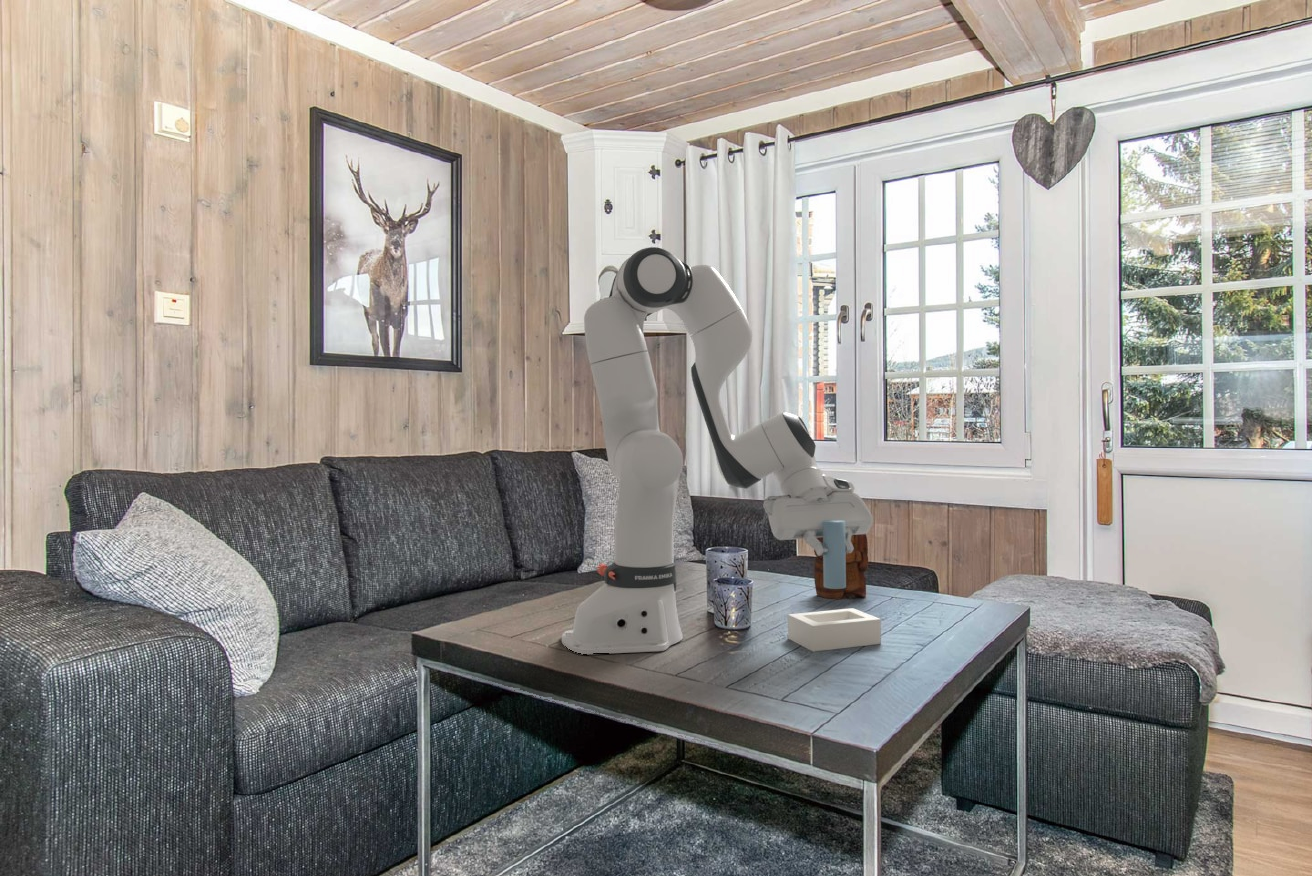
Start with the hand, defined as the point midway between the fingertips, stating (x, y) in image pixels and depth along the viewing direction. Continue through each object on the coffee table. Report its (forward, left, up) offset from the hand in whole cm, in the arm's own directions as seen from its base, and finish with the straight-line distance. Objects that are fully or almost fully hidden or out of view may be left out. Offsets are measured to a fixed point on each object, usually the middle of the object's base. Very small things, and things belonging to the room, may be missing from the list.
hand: (836, 552), depth 143 cm
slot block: (0, +1, -16) cm, 16 cm away
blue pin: (0, +1, -6) cm, 6 cm away
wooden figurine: (+22, +33, -17) cm, 43 cm away
